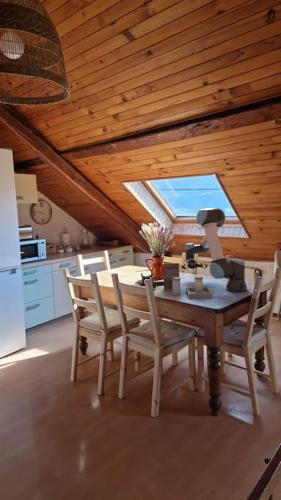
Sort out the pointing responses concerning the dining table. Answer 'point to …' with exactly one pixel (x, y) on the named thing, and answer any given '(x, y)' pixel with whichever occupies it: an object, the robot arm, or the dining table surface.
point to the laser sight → (148, 278)
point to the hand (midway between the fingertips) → (196, 268)
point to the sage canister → (198, 284)
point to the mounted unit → (170, 274)
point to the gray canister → (176, 286)
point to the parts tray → (205, 294)
